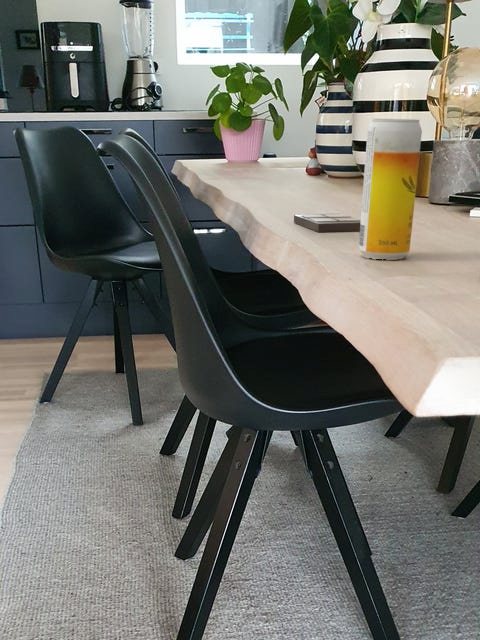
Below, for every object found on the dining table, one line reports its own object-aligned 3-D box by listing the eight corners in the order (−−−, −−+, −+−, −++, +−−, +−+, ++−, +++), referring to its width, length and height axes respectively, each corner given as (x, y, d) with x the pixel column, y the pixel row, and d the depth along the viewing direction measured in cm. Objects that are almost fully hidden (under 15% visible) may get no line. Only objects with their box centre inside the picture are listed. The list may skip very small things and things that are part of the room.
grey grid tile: (293, 222, 124) (294, 213, 123) (339, 221, 126) (339, 212, 125) (318, 232, 115) (318, 222, 114) (367, 231, 116) (367, 221, 116)
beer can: (417, 259, 95) (432, 120, 88) (370, 261, 93) (382, 119, 86) (394, 251, 100) (407, 118, 93) (350, 253, 98) (359, 118, 92)
